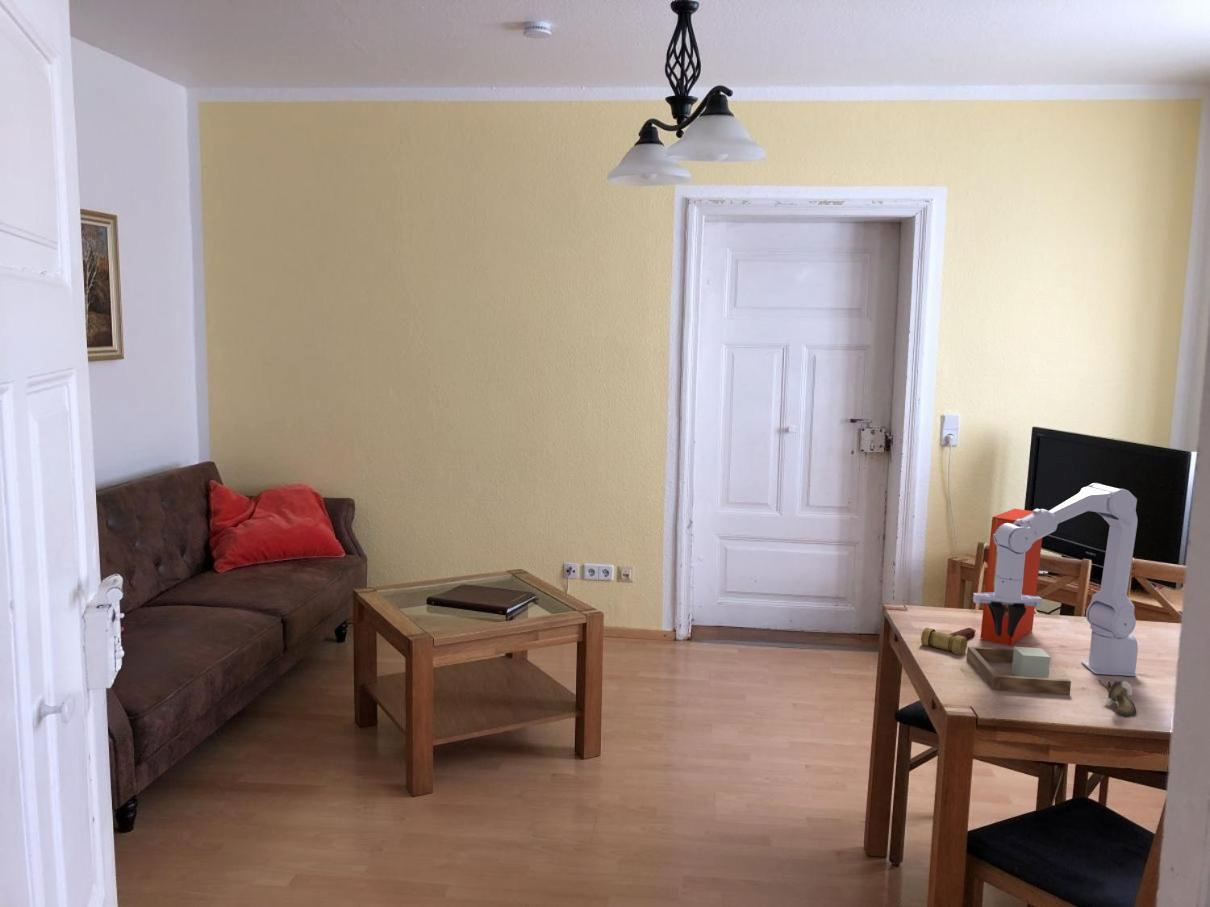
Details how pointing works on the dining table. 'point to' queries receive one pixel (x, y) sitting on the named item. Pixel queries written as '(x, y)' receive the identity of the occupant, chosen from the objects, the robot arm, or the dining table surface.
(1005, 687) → the wooden frame
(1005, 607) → the file binder
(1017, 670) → the cube
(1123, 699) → the eagle figurine
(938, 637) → the gavel
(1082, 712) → the dining table surface
